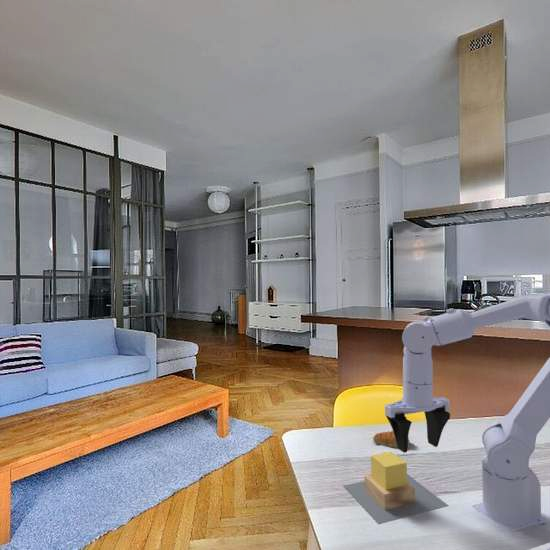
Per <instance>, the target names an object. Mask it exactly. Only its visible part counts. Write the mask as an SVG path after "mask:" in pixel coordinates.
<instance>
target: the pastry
mask: <svg viewBox="0 0 550 550" xmlns="http://www.w3.org/2000/svg"><path fill="white" fill-rule="evenodd" d="M372 439H373V440H372V441H373V442H374V443H375V445H377V446H386V447H387V448H388V447H389V448H394V449H395V448H396V449H398V447H397V442H396V438H395V435H394V432H393V430H391V431H382V432H379V433H376V434H375V435H374V436H373V437H372ZM409 447H410V439H409V437H408V449H407V450H409Z"/></svg>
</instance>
